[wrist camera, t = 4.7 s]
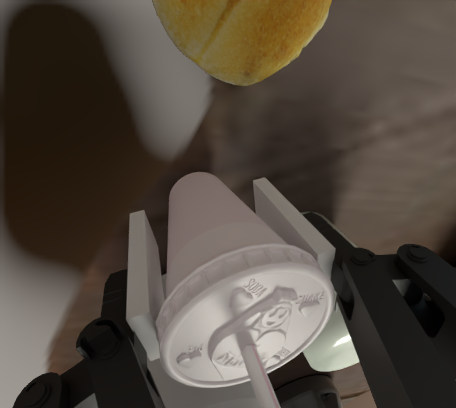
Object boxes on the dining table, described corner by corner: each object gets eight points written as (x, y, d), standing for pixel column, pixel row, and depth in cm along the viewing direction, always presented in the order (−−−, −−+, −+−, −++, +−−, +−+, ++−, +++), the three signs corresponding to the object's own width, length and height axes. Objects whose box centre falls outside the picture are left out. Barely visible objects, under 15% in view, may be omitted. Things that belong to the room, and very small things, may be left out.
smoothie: (130, 225, 16) (119, 657, 5) (171, 132, 14) (329, 503, 3) (217, 246, 19) (339, 541, 8) (262, 172, 17) (518, 427, 6)
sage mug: (330, 271, 28) (399, 351, 21) (263, 299, 27) (310, 394, 20) (332, 199, 23) (427, 274, 15) (248, 231, 22) (306, 328, 14)
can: (124, 315, 22) (115, 527, 13) (161, 251, 20) (186, 450, 10) (199, 323, 26) (237, 492, 16) (238, 269, 24) (310, 429, 14)
